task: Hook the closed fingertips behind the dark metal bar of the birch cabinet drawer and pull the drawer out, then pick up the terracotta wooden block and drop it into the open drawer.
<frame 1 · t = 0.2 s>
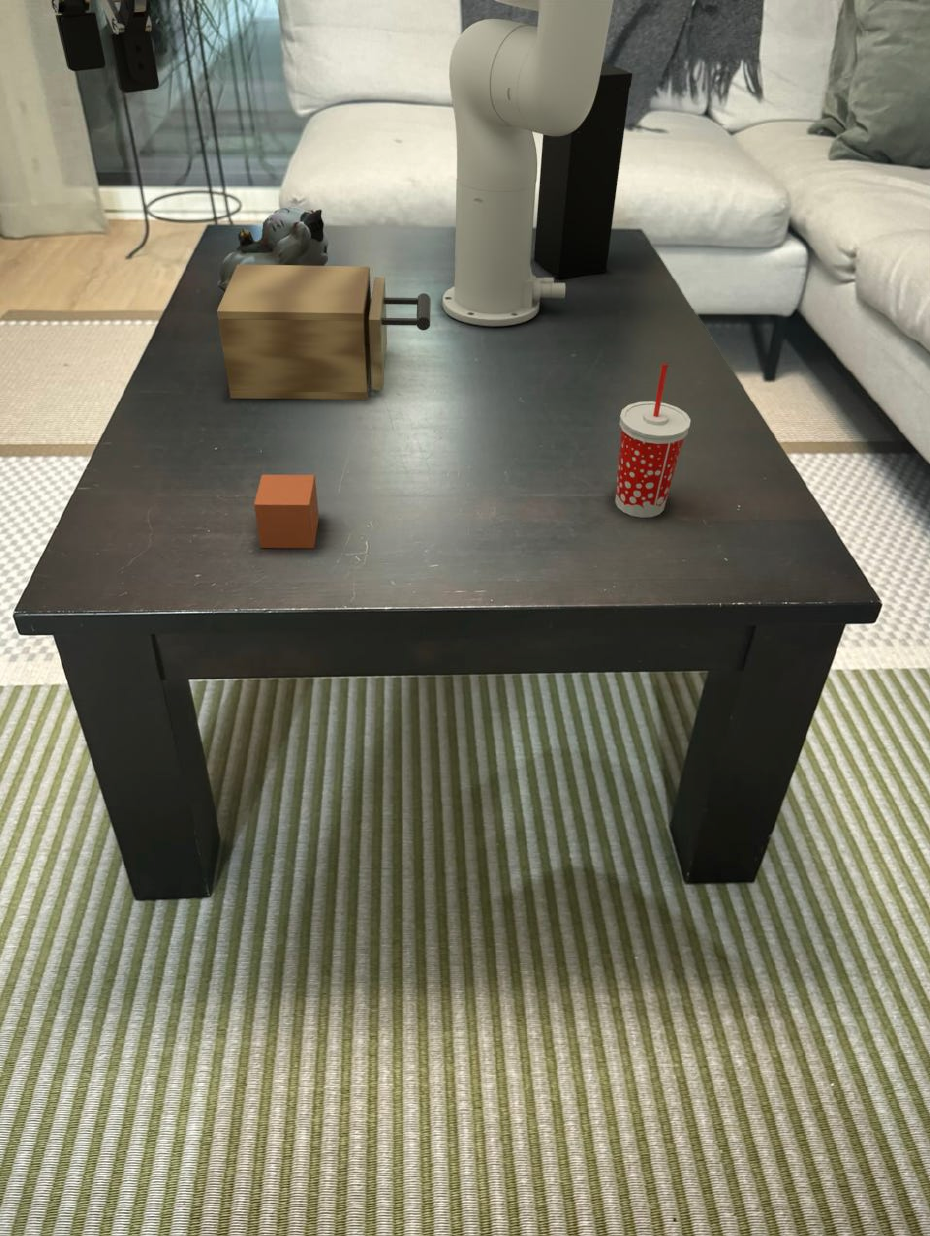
hand: (112, 79, 76), 31 cm above the table, tool pointing down, fingers open, 9 cm apart
cabinet: (305, 372, 104), on the table
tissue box: (569, 268, 131), on the table
lucky cat figurine: (275, 303, 119), on the table
beverage cup: (639, 505, 86), on the table
block: (290, 533, 81), on the table
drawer: (345, 331, 101), point 5 cm above the table, slide at 0.5 cm
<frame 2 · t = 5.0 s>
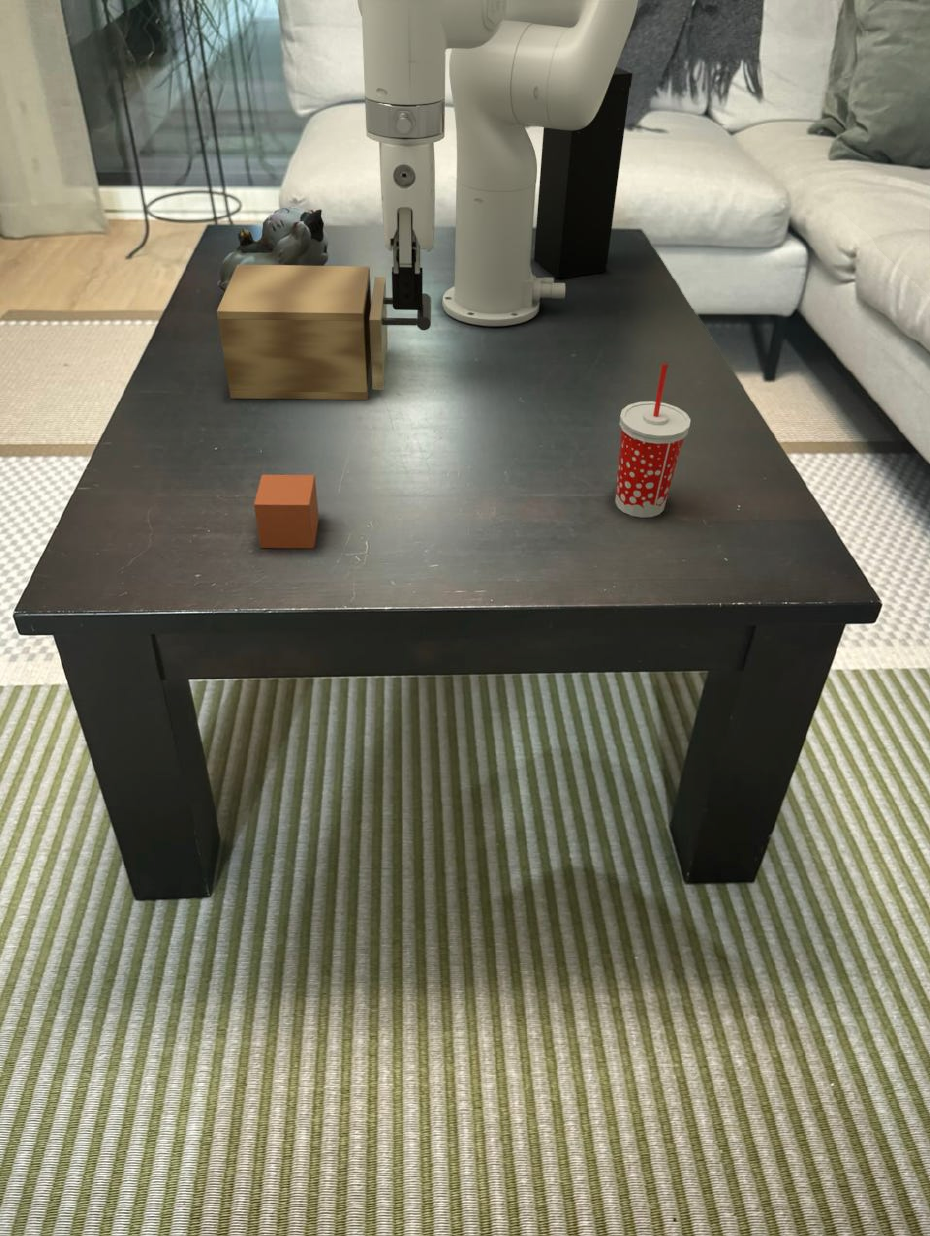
hand: (407, 306, 99), 8 cm above the table, tool pointing down, fingers closed
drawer: (346, 331, 101), point 5 cm above the table, slide at 0.6 cm, touching gripper
everything else where it was.
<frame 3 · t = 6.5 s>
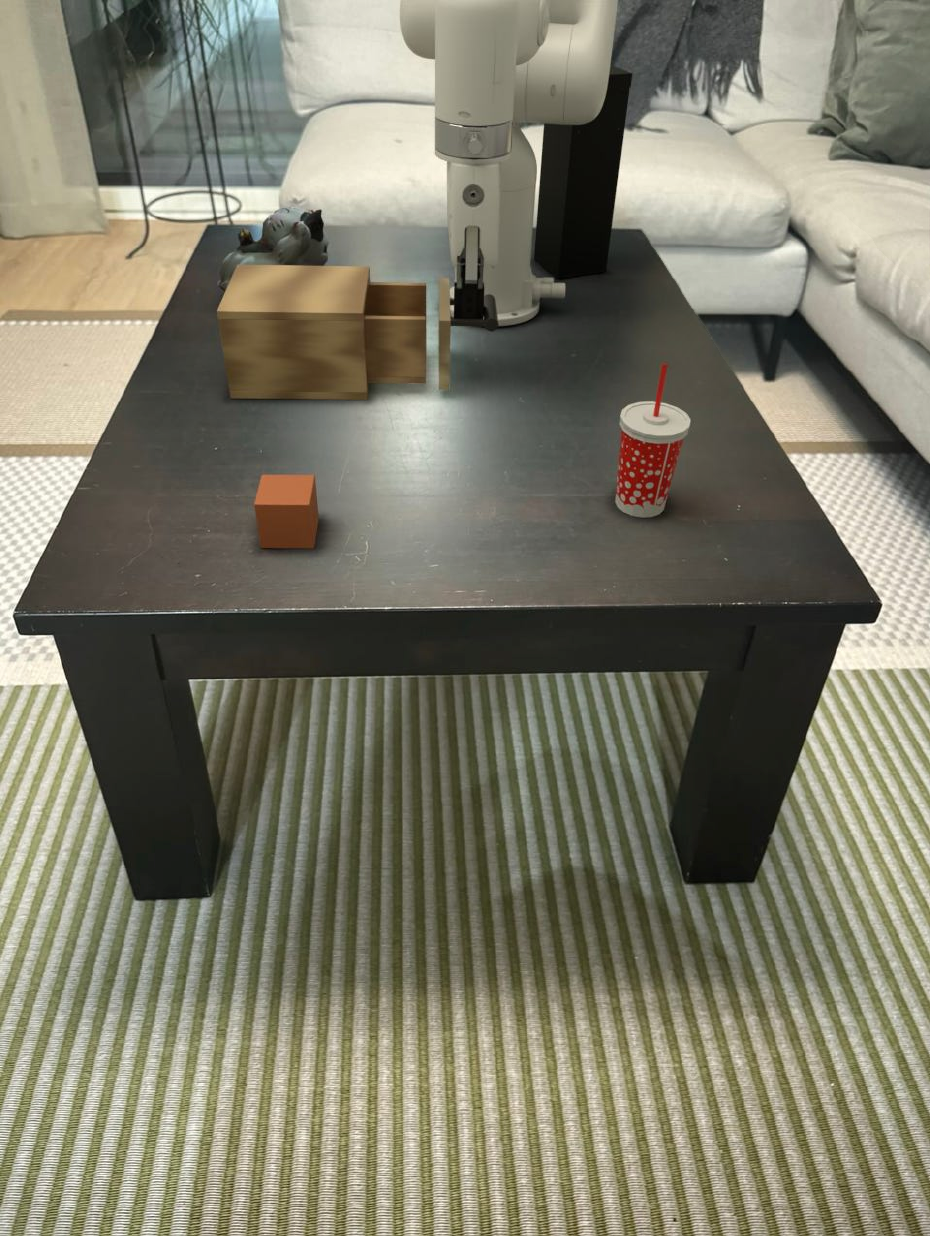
hand: (468, 320, 101), 6 cm above the table, tool pointing down, fingers closed
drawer: (411, 332, 101), point 5 cm above the table, slide at 7.8 cm, touching gripper
everything else where it was.
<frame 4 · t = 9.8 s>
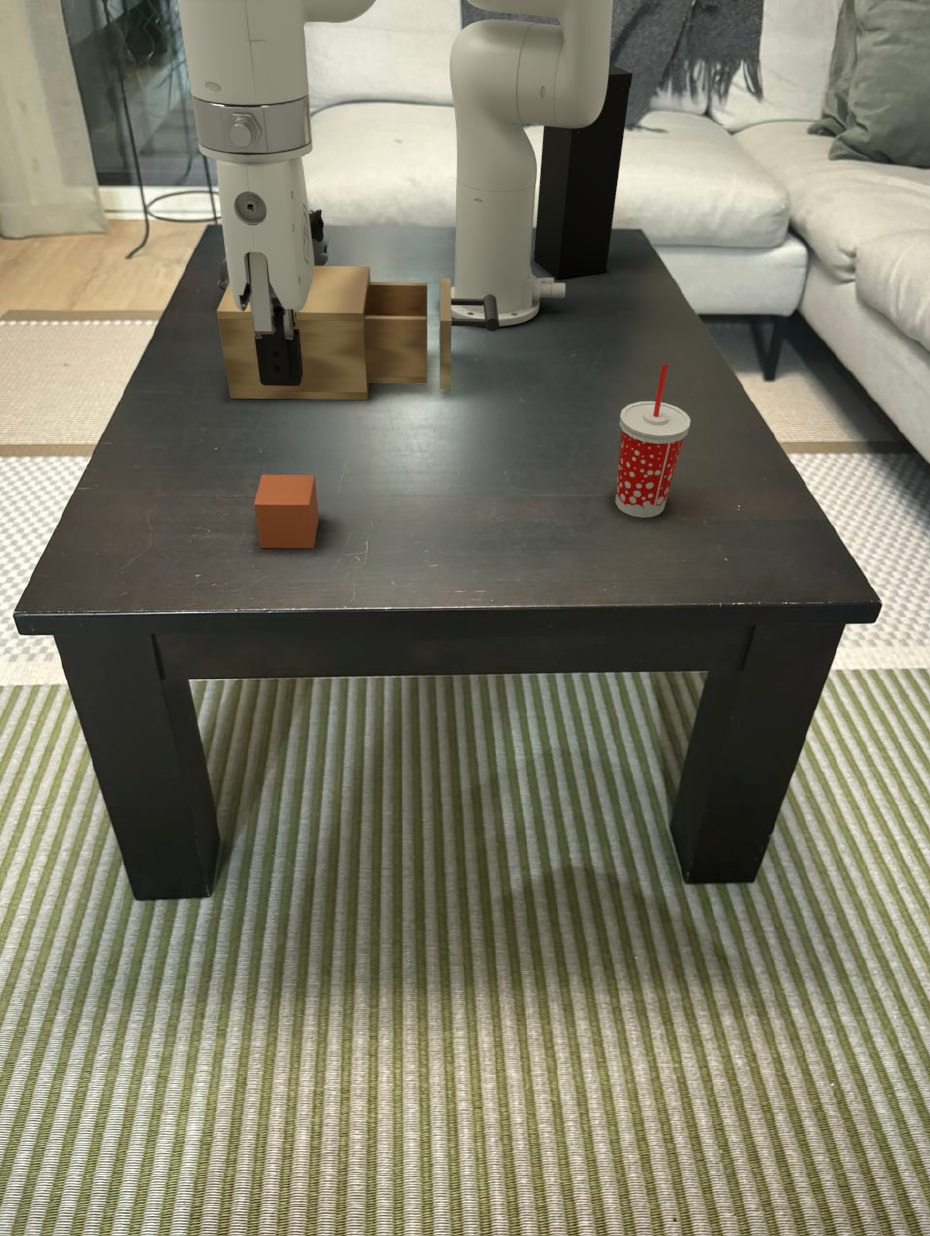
hand: (282, 380, 73), 14 cm above the table, tool pointing down, fingers closed
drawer: (412, 332, 101), point 5 cm above the table, slide at 7.9 cm
everything else where it was.
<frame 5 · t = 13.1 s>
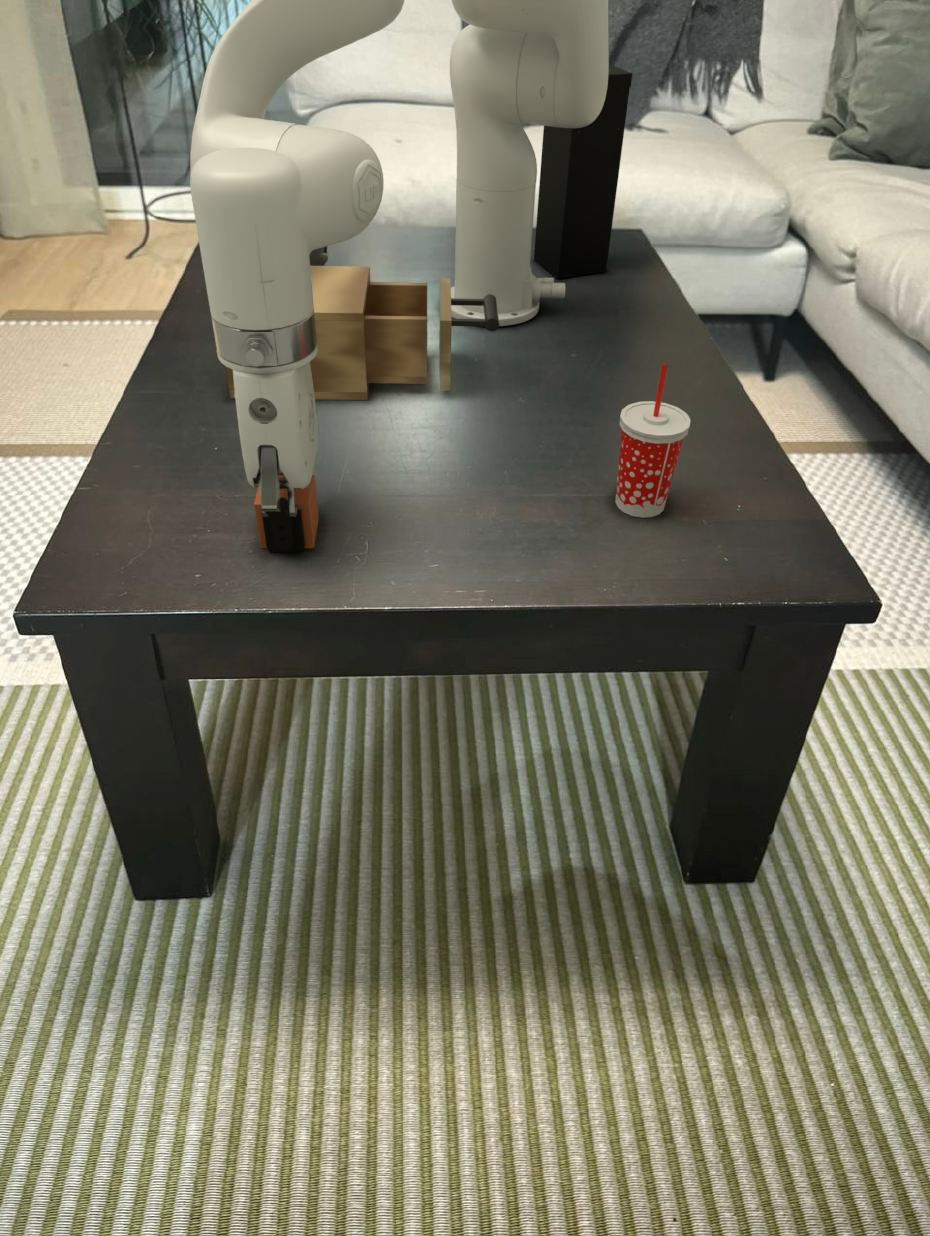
hand: (290, 529, 81), 0 cm above the table, tool pointing down, fingers closed on block, 4 cm apart
block: (290, 533, 81), on the table, touching gripper
everything else where it was.
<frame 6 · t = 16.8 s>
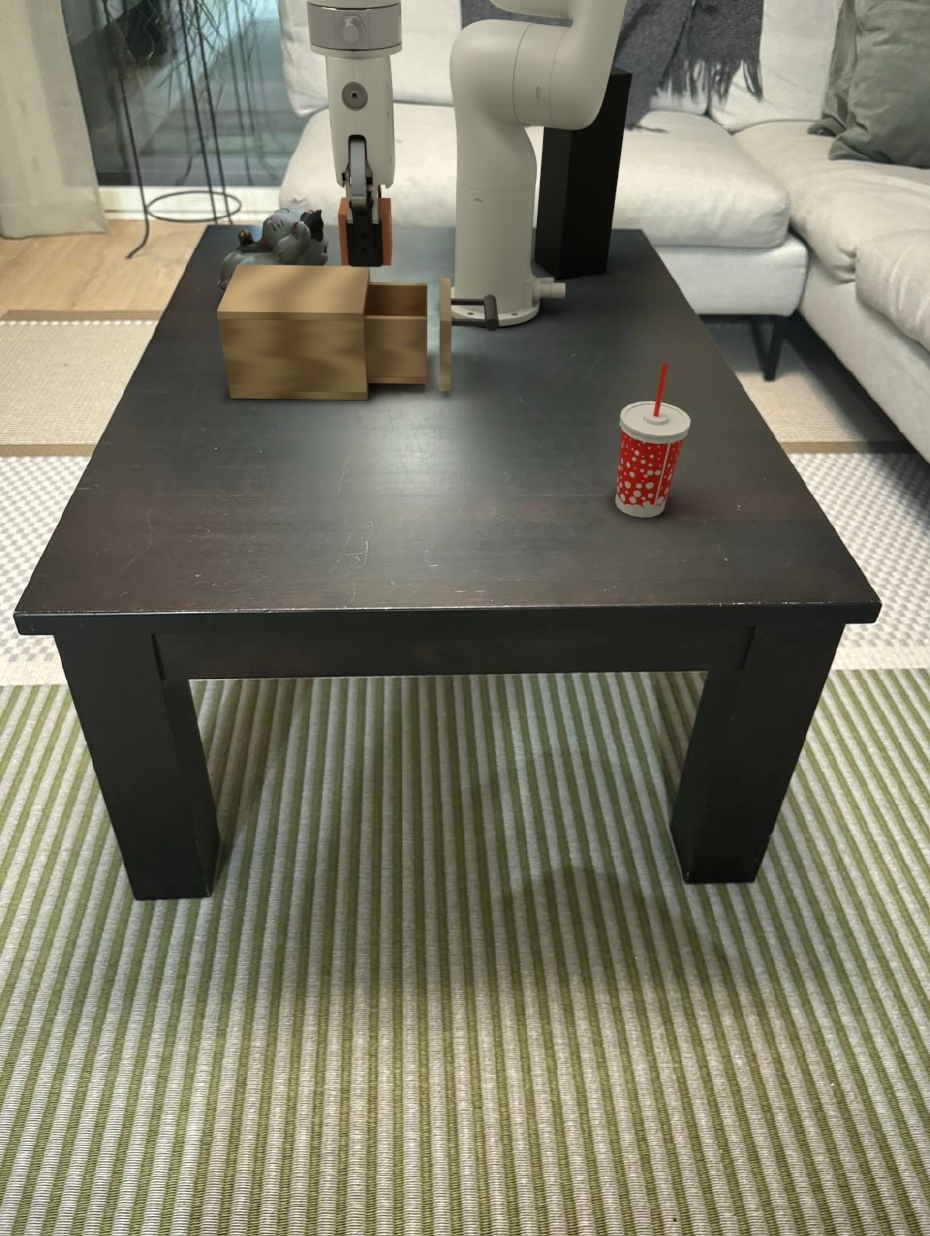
hand: (367, 252, 86), 17 cm above the table, tool pointing down, fingers closed on block, 4 cm apart
block: (367, 256, 86), point 17 cm above the table, touching gripper
everything else where it was.
when the fingers open (8 cm above the table, at t = 20.4 s): block drops 6 cm, resting on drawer.
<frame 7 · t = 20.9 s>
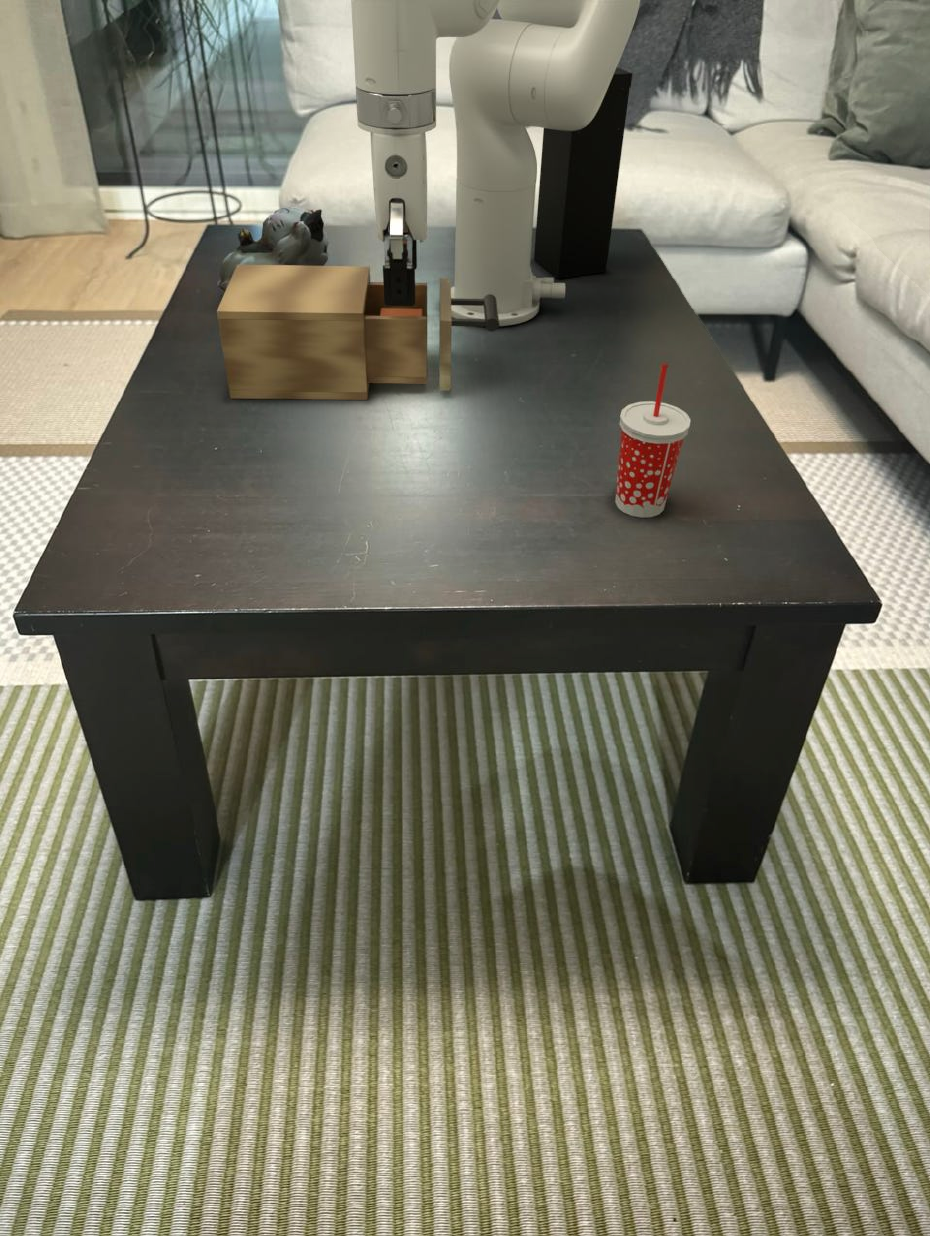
hand: (401, 286, 98), 10 cm above the table, tool pointing down, fingers open, 9 cm apart
block: (401, 356, 103), point 2 cm above the table, touching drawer
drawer: (412, 332, 101), point 5 cm above the table, slide at 7.9 cm, touching block
everything else where it was.
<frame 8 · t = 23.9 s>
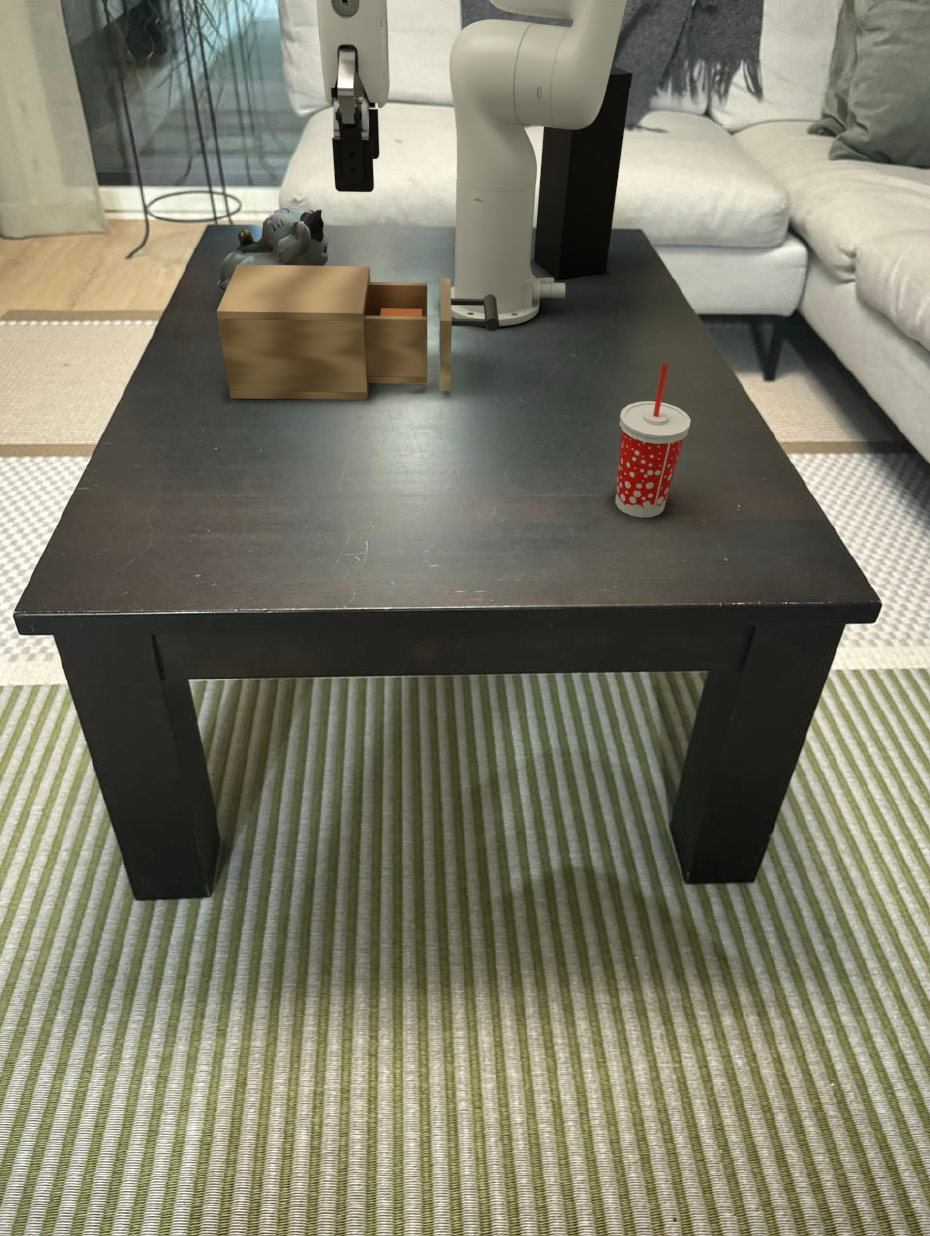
hand: (358, 173, 80), 24 cm above the table, tool pointing down, fingers open, 9 cm apart
nothing on the table moved.
at the end: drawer slide at 7.9 cm; block inside the target area in the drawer (0.5 cm from its centre), point 2.1 cm above the cabinet's base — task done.
